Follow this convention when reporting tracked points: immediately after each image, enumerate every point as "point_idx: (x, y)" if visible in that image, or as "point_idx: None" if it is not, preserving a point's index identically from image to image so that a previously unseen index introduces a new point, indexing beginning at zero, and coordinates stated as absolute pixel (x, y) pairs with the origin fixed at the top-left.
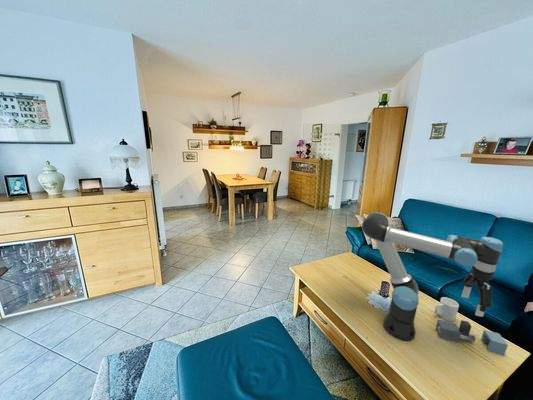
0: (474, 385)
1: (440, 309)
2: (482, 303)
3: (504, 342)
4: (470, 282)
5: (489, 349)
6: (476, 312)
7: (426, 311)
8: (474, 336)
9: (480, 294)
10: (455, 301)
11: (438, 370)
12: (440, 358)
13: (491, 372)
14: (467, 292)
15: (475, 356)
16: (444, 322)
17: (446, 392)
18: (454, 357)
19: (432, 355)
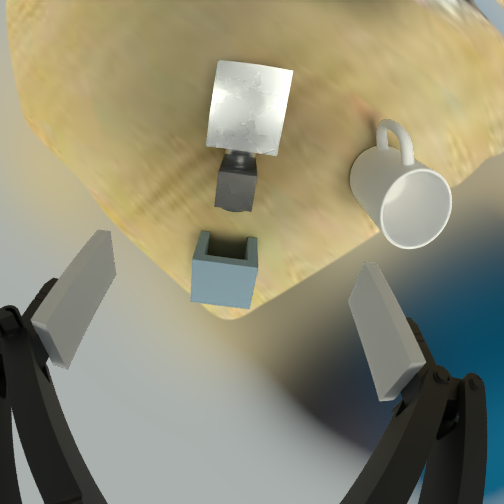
0: (43, 109)
1: (395, 153)
2: (2, 342)
3: (199, 297)
4: (371, 491)
5: (199, 236)
6: (86, 246)
7: (401, 102)
8: (227, 209)
9: (19, 433)
10: (420, 244)
11: (64, 19)
12: (110, 33)
13: (104, 185)
14: (372, 333)
15: (157, 167)
16: (272, 95)
17: (13, 33)
18: (127, 84)
19: (117, 9)
